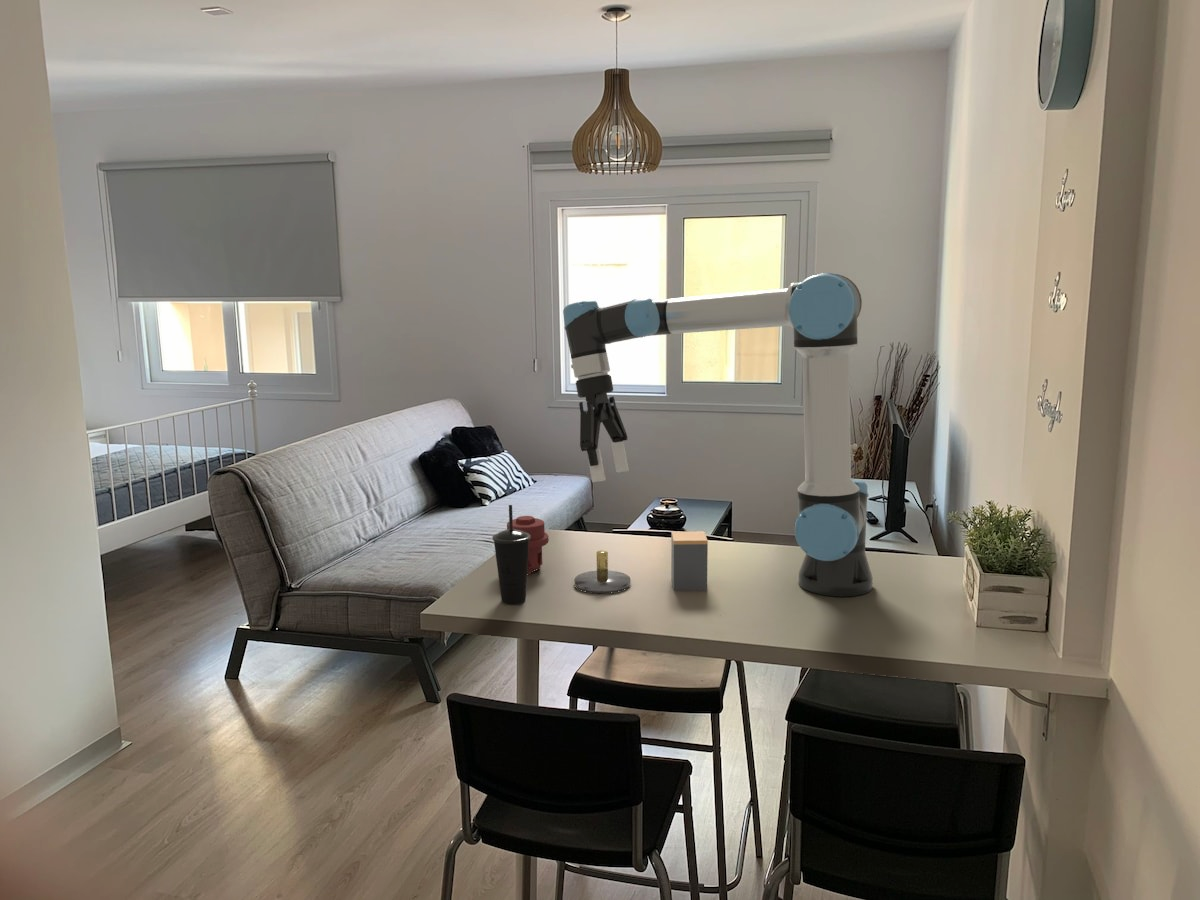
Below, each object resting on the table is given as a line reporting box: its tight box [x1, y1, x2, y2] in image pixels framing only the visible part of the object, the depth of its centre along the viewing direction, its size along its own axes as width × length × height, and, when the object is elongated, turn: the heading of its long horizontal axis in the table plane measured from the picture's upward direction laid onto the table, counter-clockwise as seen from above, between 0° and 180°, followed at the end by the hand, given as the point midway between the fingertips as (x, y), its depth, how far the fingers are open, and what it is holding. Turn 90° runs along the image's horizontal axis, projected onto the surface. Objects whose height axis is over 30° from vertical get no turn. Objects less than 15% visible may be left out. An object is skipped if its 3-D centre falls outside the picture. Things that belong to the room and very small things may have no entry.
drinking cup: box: [491, 504, 530, 606], centre depth 182 cm, size 8×8×20 cm
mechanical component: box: [506, 515, 549, 575], centre depth 202 cm, size 12×10×10 cm
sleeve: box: [670, 530, 709, 592], centre depth 191 cm, size 7×7×11 cm
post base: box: [574, 549, 632, 594], centre depth 193 cm, size 12×12×7 cm
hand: (611, 476), depth 189 cm, fingers open, 13 cm apart
